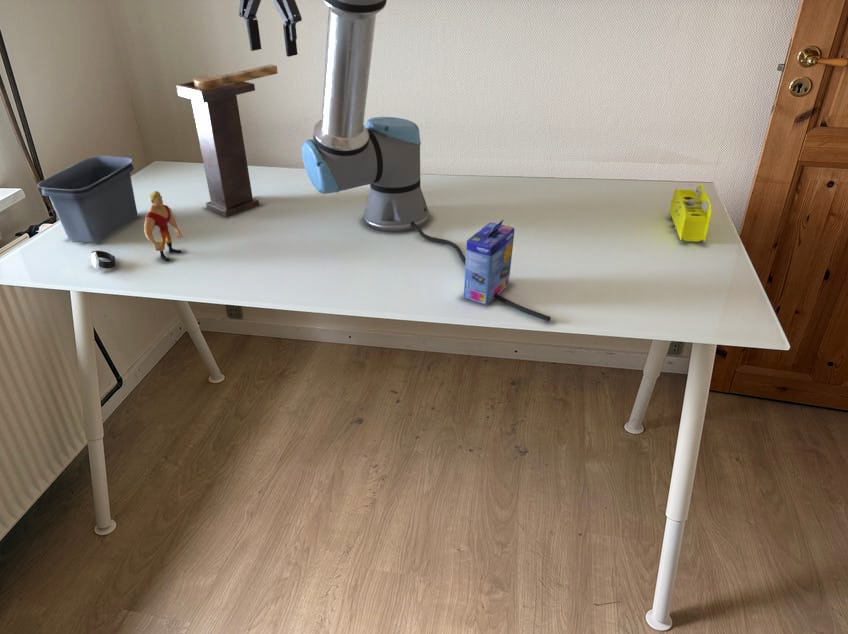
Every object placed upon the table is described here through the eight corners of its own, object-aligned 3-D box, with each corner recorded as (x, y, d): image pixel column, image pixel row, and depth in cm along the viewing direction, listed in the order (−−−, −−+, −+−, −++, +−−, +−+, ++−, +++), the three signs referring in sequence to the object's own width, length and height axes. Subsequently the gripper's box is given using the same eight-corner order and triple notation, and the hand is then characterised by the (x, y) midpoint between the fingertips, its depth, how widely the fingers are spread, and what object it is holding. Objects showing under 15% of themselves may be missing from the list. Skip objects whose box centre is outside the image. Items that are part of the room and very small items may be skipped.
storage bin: (98, 250, 155) (80, 189, 147) (43, 243, 159) (22, 184, 151) (153, 214, 171) (139, 158, 163) (102, 209, 176) (85, 154, 168)
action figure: (163, 266, 146) (147, 199, 138) (150, 264, 148) (132, 197, 139) (189, 248, 154) (175, 183, 145) (176, 246, 155) (161, 182, 146)
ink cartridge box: (488, 306, 126) (492, 234, 118) (462, 299, 129) (464, 228, 121) (511, 284, 133) (516, 214, 125) (486, 278, 136) (489, 209, 128)
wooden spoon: (266, 71, 169) (265, 61, 168) (282, 74, 165) (281, 64, 164) (189, 88, 157) (187, 78, 155) (204, 92, 153) (203, 82, 152)
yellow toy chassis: (706, 245, 144) (715, 207, 139) (678, 243, 145) (686, 206, 140) (694, 215, 157) (702, 180, 152) (667, 214, 158) (675, 179, 153)
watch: (87, 263, 150) (83, 247, 147) (108, 256, 152) (104, 241, 150) (101, 274, 145) (96, 259, 142) (122, 267, 147) (117, 252, 145)
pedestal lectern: (246, 193, 181) (227, 73, 164) (271, 202, 174) (253, 79, 158) (201, 208, 173) (175, 84, 156) (225, 219, 167) (201, 91, 150)
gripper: (213, -51, 155) (229, 50, 167) (283, -50, 141) (295, 61, 153) (240, -54, 160) (254, 45, 172) (311, -52, 145) (320, 55, 157)
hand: (273, 52), depth 162 cm, fingers open, 13 cm apart
